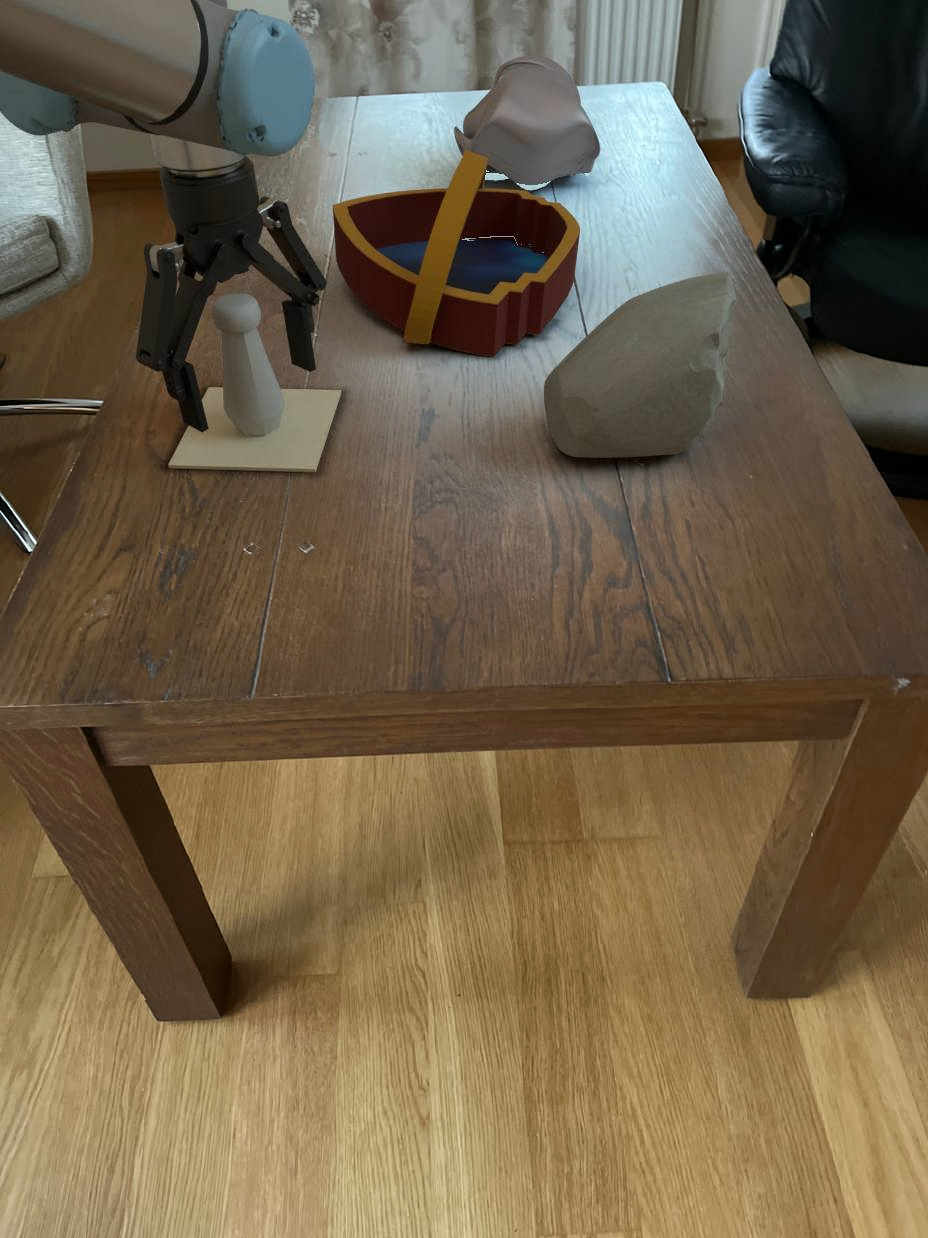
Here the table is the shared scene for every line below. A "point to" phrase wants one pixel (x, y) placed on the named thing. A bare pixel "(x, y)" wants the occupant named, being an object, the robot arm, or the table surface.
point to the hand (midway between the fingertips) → (252, 395)
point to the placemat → (277, 451)
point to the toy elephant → (531, 124)
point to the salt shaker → (246, 367)
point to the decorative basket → (459, 260)
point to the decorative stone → (644, 373)
